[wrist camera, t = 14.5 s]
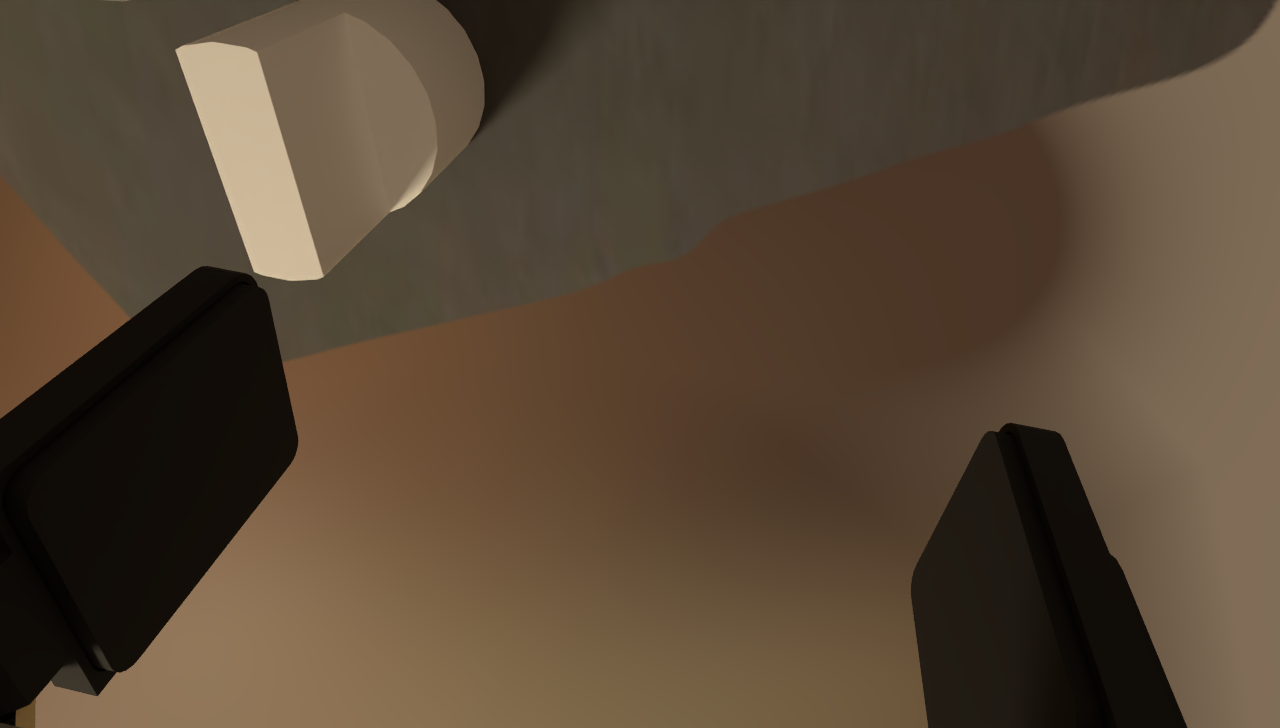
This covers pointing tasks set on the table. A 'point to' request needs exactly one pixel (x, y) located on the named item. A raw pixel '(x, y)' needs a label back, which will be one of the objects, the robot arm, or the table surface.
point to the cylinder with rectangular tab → (331, 120)
